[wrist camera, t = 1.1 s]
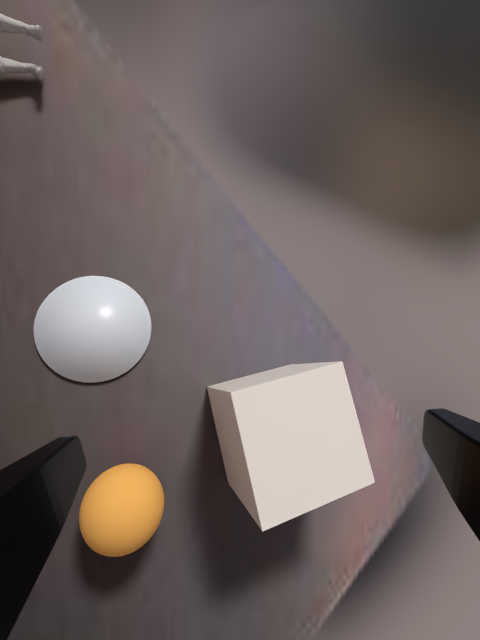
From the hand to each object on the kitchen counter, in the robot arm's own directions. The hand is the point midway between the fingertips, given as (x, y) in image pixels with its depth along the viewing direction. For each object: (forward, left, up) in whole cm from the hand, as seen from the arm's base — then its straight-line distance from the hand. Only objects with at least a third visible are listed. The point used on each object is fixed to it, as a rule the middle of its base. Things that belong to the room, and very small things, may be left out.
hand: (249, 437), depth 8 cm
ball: (-7, +3, -14) cm, 16 cm away
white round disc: (+4, +7, -17) cm, 19 cm away
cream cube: (-1, -6, -17) cm, 18 cm away
